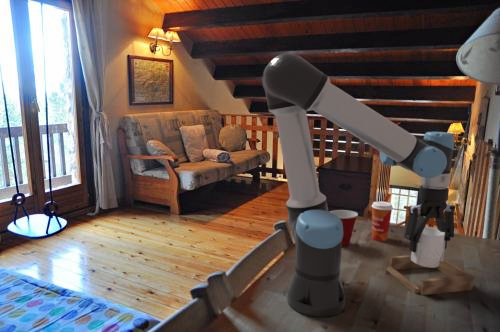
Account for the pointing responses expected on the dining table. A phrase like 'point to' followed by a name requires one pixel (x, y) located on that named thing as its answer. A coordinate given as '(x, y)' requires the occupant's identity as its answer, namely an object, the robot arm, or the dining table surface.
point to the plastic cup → (346, 224)
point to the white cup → (431, 247)
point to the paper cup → (381, 220)
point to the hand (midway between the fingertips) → (426, 260)
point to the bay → (452, 283)
